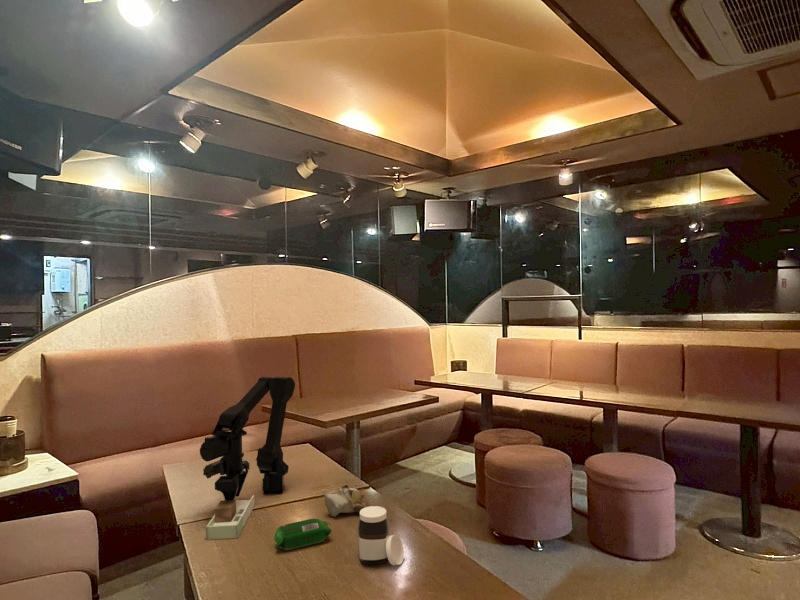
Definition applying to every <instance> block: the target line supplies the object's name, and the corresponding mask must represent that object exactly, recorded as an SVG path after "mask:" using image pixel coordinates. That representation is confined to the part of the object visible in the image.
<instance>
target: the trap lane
mask: <svg viewBox="0 0 800 600" xmlns="http://www.w3.org/2000/svg"><path fill="white" fill-rule="evenodd" d="M254 508H255V494H253V495H252V496H251V497H250V499H249V500H247V499H244V500H243V499H241V500H239V499H238V500H236V514H235V516H234V518H233V519H232V521H231V522H221V523H215V514H214V515H213V516H212V518H210V520H209V522H208V523H207V524H206V526H205V540H207V541H209V540H226V539H238V538H239V537H240V534H241V532H242V530H243V529H244V527H245V525H246V522H247V521H248V520H249V517H250V515H251V514H252V511H253V509H254Z"/></svg>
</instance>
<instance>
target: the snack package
mask: <svg viewBox="0 0 800 600" xmlns="http://www.w3.org/2000/svg"><path fill="white" fill-rule="evenodd" d="M331 532H332V529H331V527H329V523H328V522H327V521H324V520H322V519H319V518H310V519H309V518H308V519H305V520H299V521H295V522H291V523H286V524H283V525H281V526H279V527H278V528H277V529H276V531H275V534H274V537H273V538H274V539H273V540H274V541H275V543H276V544H275V548H277V549H278V548H279V549H281V550H283V551H292V550H296V549H300V548H305V547H308V546H311V545H315V544H319V543H321V542H324V540H326V539H327V538H328V536H329V535H330V534H331Z"/></svg>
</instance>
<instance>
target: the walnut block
mask: <svg viewBox="0 0 800 600" xmlns="http://www.w3.org/2000/svg"><path fill="white" fill-rule="evenodd" d="M236 501H237V500H236V499H234V500H225V499H224V500H220V501H219V503H218V504H217V505H216V506H215V508H214V515H215V523H221V522H231V521H232V519H233V518H234V516H235V514H236Z"/></svg>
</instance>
